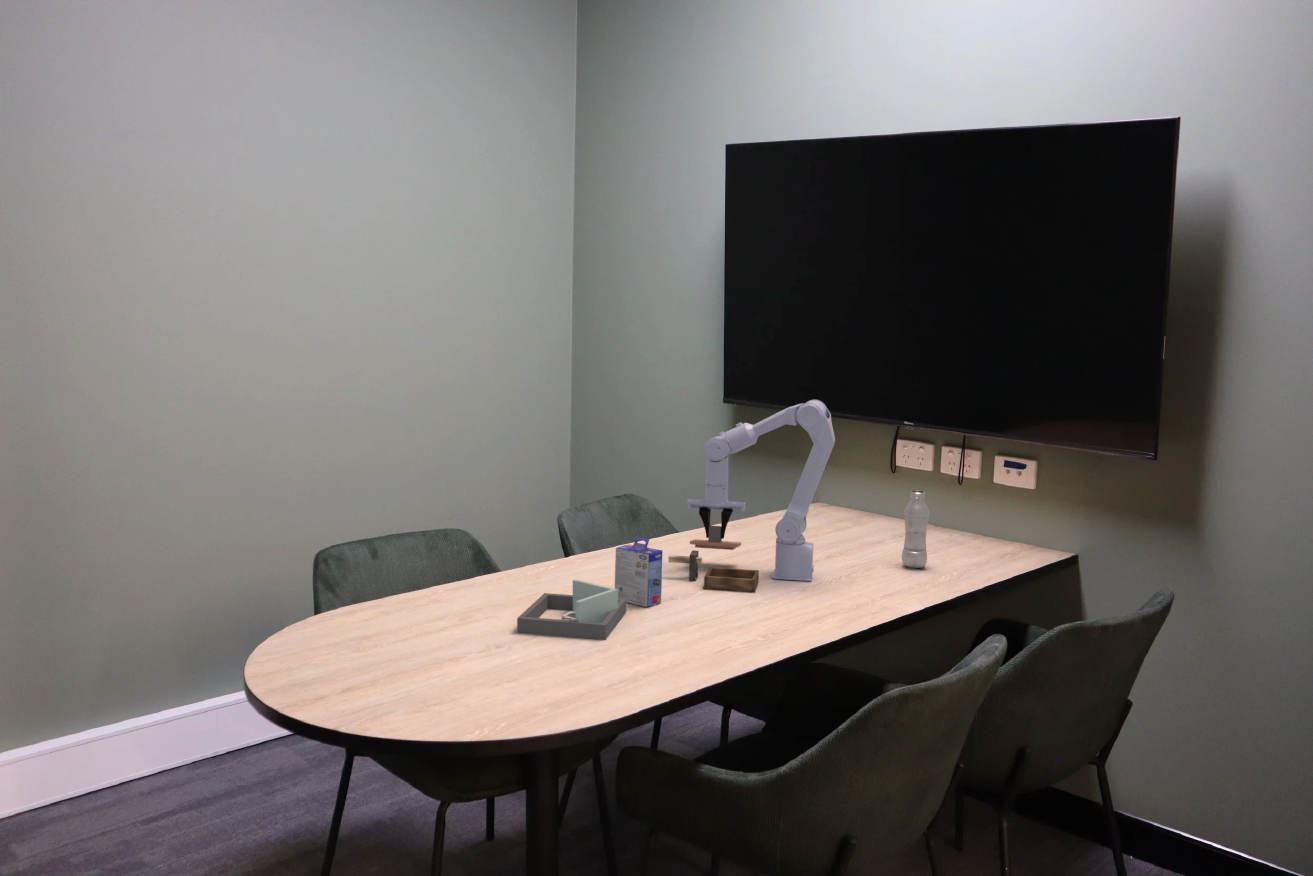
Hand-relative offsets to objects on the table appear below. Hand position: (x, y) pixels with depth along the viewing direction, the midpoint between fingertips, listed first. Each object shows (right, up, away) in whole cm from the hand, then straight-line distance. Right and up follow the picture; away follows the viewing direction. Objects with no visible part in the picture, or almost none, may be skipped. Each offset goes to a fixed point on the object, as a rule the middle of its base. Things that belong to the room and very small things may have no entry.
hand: (715, 537), depth 253 cm
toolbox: (+1, -10, -13) cm, 16 cm away
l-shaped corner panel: (-31, -14, -44) cm, 56 cm away
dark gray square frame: (-32, -13, -43) cm, 56 cm away
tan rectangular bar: (-8, -5, -9) cm, 13 cm away
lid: (0, -3, +2) cm, 3 cm away
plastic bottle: (+52, -9, +6) cm, 53 cm away
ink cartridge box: (-19, -12, -28) cm, 36 cm away
